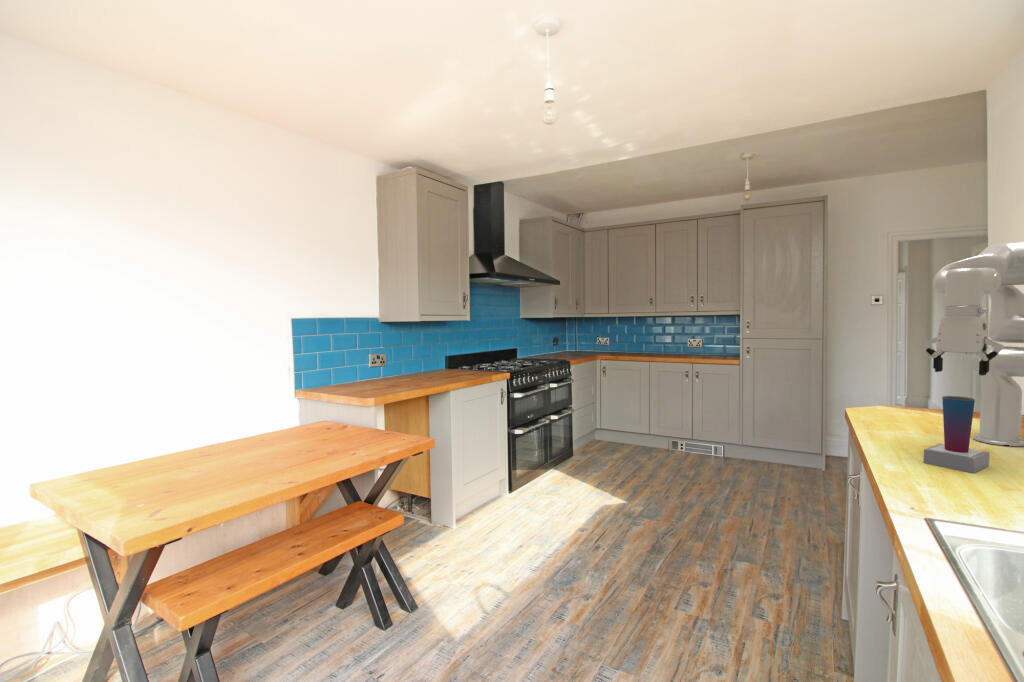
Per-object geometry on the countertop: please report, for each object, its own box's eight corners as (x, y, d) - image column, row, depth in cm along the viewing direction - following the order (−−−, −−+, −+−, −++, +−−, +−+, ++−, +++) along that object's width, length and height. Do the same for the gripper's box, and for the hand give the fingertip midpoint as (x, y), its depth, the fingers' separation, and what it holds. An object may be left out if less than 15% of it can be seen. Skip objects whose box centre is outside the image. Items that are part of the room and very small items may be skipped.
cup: (979, 454, 135) (981, 400, 134) (950, 453, 137) (952, 400, 136) (961, 447, 142) (963, 396, 141) (934, 446, 143) (936, 395, 142)
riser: (939, 456, 147) (940, 443, 147) (988, 466, 137) (989, 451, 137) (923, 462, 141) (923, 448, 141) (973, 473, 132) (974, 458, 132)
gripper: (1009, 312, 131) (1007, 375, 132) (929, 312, 146) (928, 369, 147) (999, 312, 127) (996, 377, 129) (918, 313, 142) (916, 371, 143)
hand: (960, 373), depth 138 cm, fingers open, 9 cm apart
